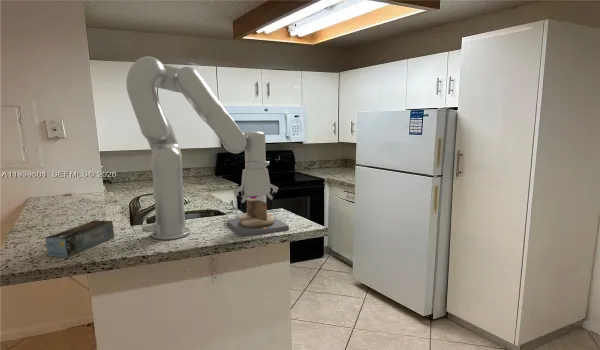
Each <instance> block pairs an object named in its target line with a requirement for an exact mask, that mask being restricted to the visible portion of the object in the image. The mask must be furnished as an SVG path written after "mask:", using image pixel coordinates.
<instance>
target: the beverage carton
mask: <svg viewBox="0 0 600 350" xmlns="http://www.w3.org/2000/svg"><path fill="white" fill-rule="evenodd" d="M114 233H115V231H114V224H113V221H112V220H104V219H103V220H97V219H96V220H95V219H94V220H91V221H89V222H87V223H84V224H81V225H78V226H75V227H72V228H70V229H66V230H64V231H61V232H58V233H55V234H52V235H49V236H46V237H45V243H46V252H47V256H49V257H60V258H70V257H72V256H74V255H76V254H79V253H82V252H84V251H87V250H88V249H91V248H93V247H95V246H98V245H100V244H102V243H104V242H107V241H109V240H112V239H114V238H115V234H114Z"/></svg>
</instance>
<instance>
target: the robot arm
mask: <svg viewBox="0 0 600 350" xmlns="http://www.w3.org/2000/svg"><path fill="white" fill-rule="evenodd" d="M125 83H126V91H127V94H128V98H129V101H130V103H131V106H132V109H133V111H134V115H135V118H136V120H137V123H138V126H139V129H140V132H141V135H142V136H143V137H144V138H145V139H146V140H147V142H148V145H149V148H150V150H151V153H152V154H151V159H150V165H151V166H150V167H151V174H152V181H153V182H152V183H153V195H154V197H153V199H154V209H155V210H154V211H155V221H154V223H152V224H151V225H143V226H141V232H142V233H143V232H144V233H151V232H152V233H151V237H152V238H154V239H156V240H162V241H163V240H165V241H167V240H176V239H181V238H184V237H186V236H188V235H189V234H191V229H190V228H189V227H188V226H187V227H186V217H185V216H186V215H185V198H184V197H185V196H184V181H183V155H182V151H181V148H180V146H179V142H178V139H177V138H176V135H175V132H174V129H173V127H172V124H171V122H170V120H169V119H168V118H167V116H166V115H165V113H164V111H163V108H162V105H161V102H160V99H159V97H158V95H157V94H158V93H157V91H156V88H158V89H162V90H167V91H170V92H174V93H179V94H182V95H183V97H184V98H185V100H187V101H188V103H189V104H190V106H191V107H192V109H193V110H194V111H195V112H196V114H198V116H199V117H200V119H201V120H202V121H203V122H204V123H206V124H207V126H209V127H210V128H211V130H212V131H213V132H214V133H215V135H216V136H217V137H218V138H219V140H220V142H221V143H222V146H223V147H224V148H225V150H226V151H228V152H229V153H232V154H240V153H242V152H244V162H245V163H244V166H245V167H244V169H242V173H241V174H242V175H241V185H240V186H238V187H237V188H235V189H233V190H232V193H233V194H234V196H235V198H236V199H237V200H238V201H239V202H240V211H242V213H243V214H247V198H248V197H255V196H264V195H266V203H267V211H268V210H269V211H271V210H272V207H273V199H274V197H276V194H277V192H278V191H279V187H278V186H276V185H274V184H272V183H271V180H270V175H269V169H268V168H267V166H270V161H267V160H266V159H267V157H266V134H265V132H263V131H248V132H243V131H242V130H241V129H240V127H239V126H238V124H237V123H236V122H235V120H234V119H233V117H231V115H230V114H229V113H228V112H227V110H226V108H224V106H223V104H222V103H221V102H220V100H219V99H218V97H216V95H215V93H213V91H212V90H211V88H210V87H209V85H208V84H207V83H206V82H205V80H204V79H203V77H202V75H200V73H199V72H198V71H197V70H196V69H195V68H194V67H191V66H183V67H179V68H178V67H175V66H171V65H167V64H164V63H162V62H161V60H160V59H158V58H156V57H153V56H149V55H146V56H143V57H139V59H137V60H135V62H133V64H132V65H131V66H130V68H129V70H128V72H127V75H126V82H125ZM271 189H272V191H271ZM239 192H241V195H240V194H239Z"/></svg>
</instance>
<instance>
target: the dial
mask: <svg viewBox="0 0 600 350" xmlns="http://www.w3.org/2000/svg"><path fill="white" fill-rule="evenodd" d="M238 217H239V218H238V219H239V223H240V225H242V226H247V227H263V226H268V225H271V224H273V223H274V217H275V215H274V214H272V213H269V212H268V209H267V203H266V202H263V201H259V200H256V199H249V200H247V199H246V213H243V214H242V215H240V216H238Z"/></svg>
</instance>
